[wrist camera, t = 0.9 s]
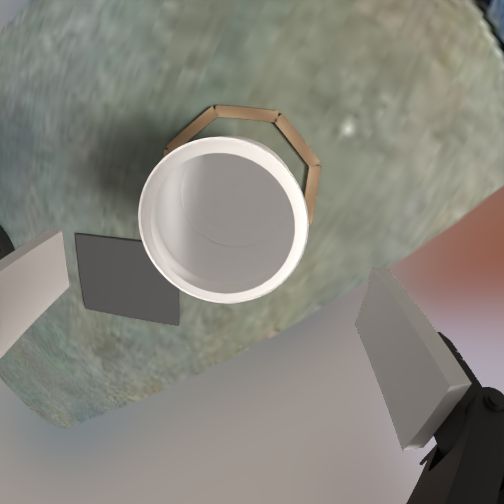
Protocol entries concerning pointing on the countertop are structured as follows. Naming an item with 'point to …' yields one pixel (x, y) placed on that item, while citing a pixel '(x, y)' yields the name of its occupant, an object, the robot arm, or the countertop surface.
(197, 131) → the cork ring
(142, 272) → the mat
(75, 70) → the countertop surface
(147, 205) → the jar
